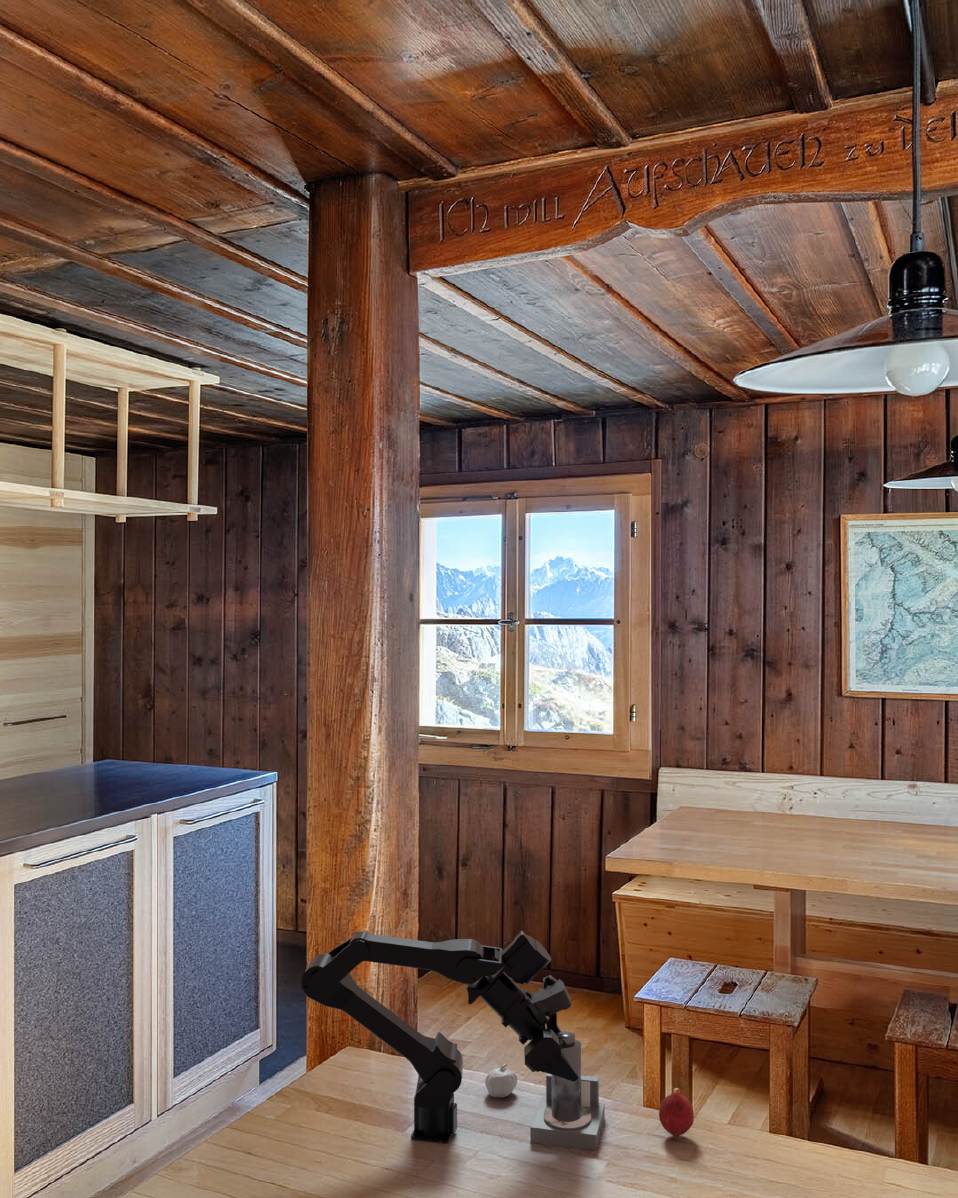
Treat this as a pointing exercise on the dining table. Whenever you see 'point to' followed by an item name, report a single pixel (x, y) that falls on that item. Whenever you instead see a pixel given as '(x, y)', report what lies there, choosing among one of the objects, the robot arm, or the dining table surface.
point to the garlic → (501, 1082)
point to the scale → (571, 1138)
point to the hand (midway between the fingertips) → (574, 1067)
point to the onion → (676, 1113)
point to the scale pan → (573, 1125)
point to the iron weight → (568, 1082)
